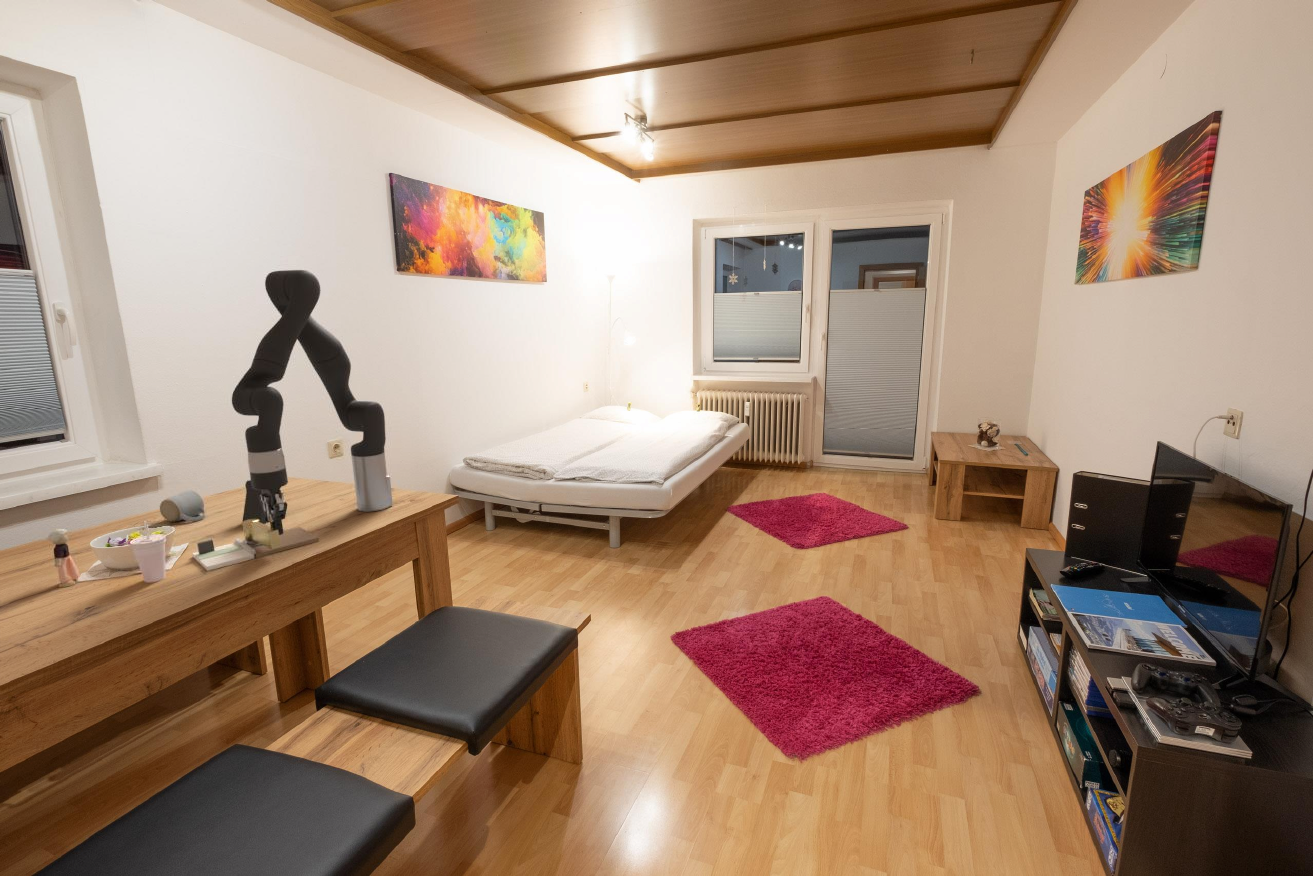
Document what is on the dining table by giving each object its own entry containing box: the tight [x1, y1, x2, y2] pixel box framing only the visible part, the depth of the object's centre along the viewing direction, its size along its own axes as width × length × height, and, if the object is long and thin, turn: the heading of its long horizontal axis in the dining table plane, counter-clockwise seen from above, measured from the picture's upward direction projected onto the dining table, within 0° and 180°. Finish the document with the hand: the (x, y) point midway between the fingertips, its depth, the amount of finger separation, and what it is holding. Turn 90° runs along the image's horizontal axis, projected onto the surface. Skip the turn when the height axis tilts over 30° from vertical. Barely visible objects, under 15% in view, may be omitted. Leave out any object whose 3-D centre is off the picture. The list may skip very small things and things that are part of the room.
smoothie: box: [129, 520, 167, 583], centre depth 136 cm, size 6×6×14 cm
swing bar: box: [241, 519, 281, 549], centre depth 151 cm, size 15×4×5 cm, turn 55°
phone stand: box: [241, 479, 270, 525], centre depth 176 cm, size 9×6×12 cm, turn 171°
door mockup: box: [191, 526, 320, 571], centre depth 154 cm, size 24×13×4 cm, turn 139°
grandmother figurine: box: [46, 528, 81, 588], centre depth 135 cm, size 8×4×13 cm, turn 44°
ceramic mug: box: [159, 489, 207, 523], centre depth 177 cm, size 11×8×8 cm
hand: (277, 534), depth 151 cm, fingers closed
